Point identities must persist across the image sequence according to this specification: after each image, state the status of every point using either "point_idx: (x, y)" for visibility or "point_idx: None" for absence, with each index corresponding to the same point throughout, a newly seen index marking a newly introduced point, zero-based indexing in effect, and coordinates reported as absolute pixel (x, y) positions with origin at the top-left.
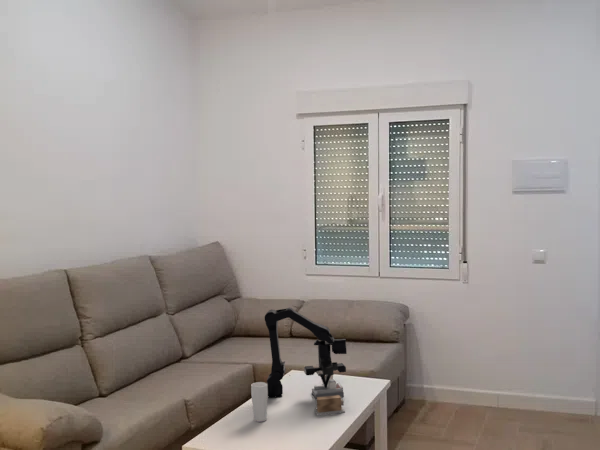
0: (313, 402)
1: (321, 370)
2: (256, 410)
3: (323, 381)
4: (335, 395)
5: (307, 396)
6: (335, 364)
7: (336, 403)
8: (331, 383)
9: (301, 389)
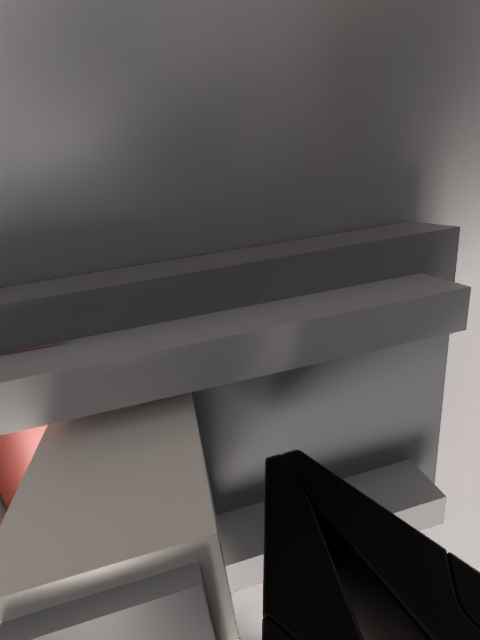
0: (473, 73)
1: None
2: None
3: (437, 553)
4: (84, 282)
5: (471, 346)
6: None
7: None
8: (156, 522)
9: (461, 541)
